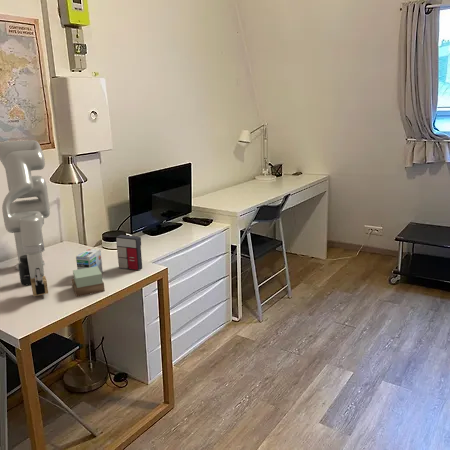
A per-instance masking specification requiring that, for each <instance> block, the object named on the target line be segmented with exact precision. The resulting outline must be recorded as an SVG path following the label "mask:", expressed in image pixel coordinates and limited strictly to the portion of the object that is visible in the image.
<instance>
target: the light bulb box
mask: <svg viewBox="0 0 450 450" xmlns="http://www.w3.org/2000/svg"><path fill="white" fill-rule="evenodd" d="M75 259H76V260H75V261H76V268H77V269H76V270H78V269H84V268H90V267H96V266H98V268H99V270H100V272H101V273H103V271H104V270H103V262H102V253H101V249H96V248H95V249H93V248H86V249H85V250H83V251H82V252H80V253H79V254H78V255H76V256H75Z"/></svg>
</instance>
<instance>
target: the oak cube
mask: <svg viewBox="0 0 450 450" xmlns="http://www.w3.org/2000/svg"><path fill="white" fill-rule="evenodd" d="M42 278H43V283H44V288H45V293H43V294H38V295H37V294H36V288H35V285H36V283H35V278H33V279H31V278H30V279H31V285H30V286H31V291H32V296H33V297H37V296H42V295H47V294H49V287H48V281H47V277H46V275H44V276H43V277H42ZM36 280H37V279H36Z"/></svg>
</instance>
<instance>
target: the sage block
mask: <svg viewBox="0 0 450 450" xmlns="http://www.w3.org/2000/svg"><path fill="white" fill-rule="evenodd" d="M102 273H103V272H102ZM102 273H101V272H100V270H99V268H98V266H96V267H90V268H84V269H78V270H77V269H74V270H72V274H73V279H74V281H75V283H76V286H77V288H80V287H85V286H90V285H96V284H101V283H104V281H103V274H102Z"/></svg>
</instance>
